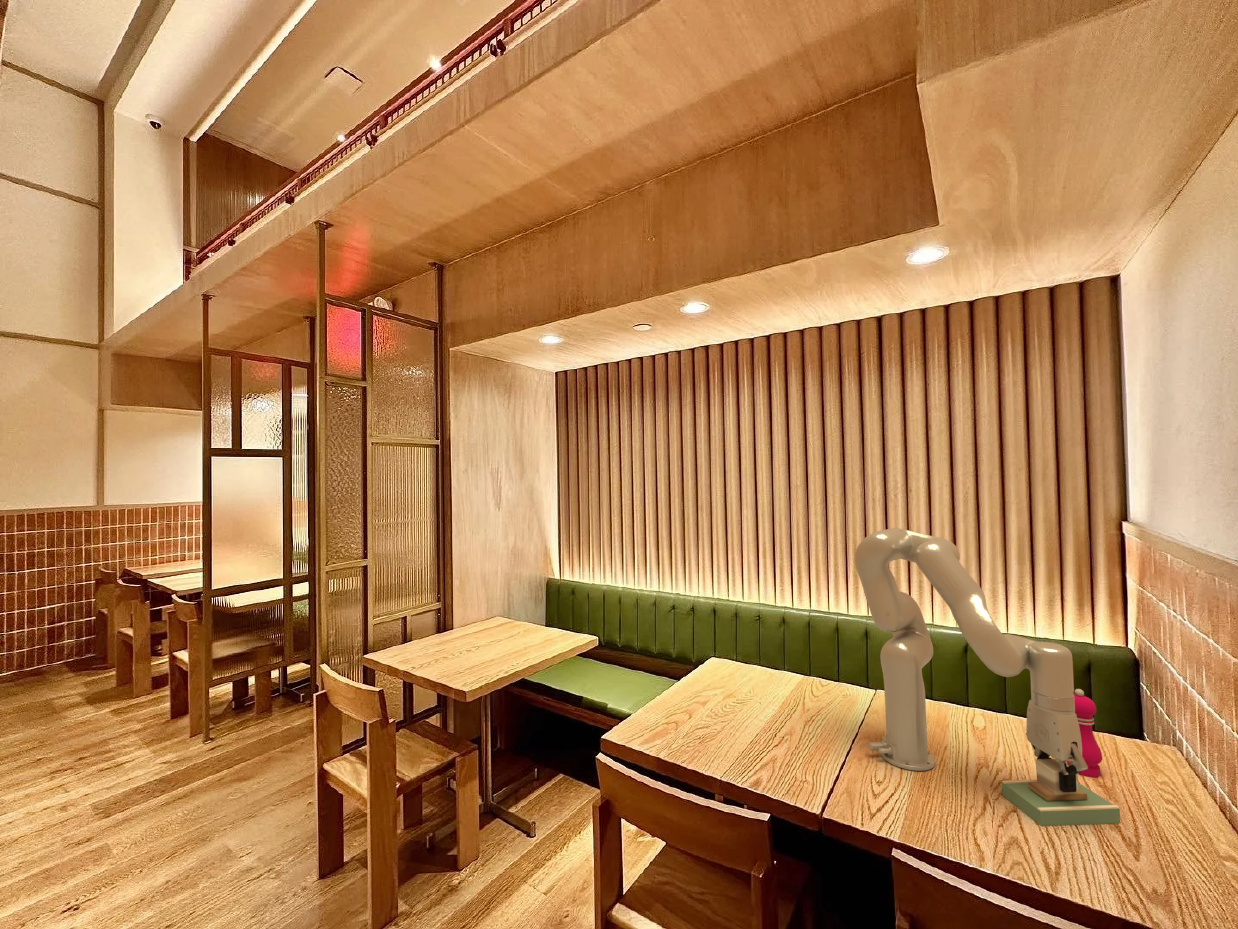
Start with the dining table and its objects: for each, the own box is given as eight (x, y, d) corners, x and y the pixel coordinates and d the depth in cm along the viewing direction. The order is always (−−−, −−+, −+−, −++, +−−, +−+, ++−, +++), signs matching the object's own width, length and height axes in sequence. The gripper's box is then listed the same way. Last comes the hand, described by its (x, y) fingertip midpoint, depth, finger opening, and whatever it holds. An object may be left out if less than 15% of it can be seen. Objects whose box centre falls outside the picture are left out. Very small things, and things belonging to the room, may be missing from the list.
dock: (1041, 826, 111) (1040, 810, 111) (1002, 795, 122) (1001, 780, 122) (1120, 823, 111) (1119, 807, 111) (1074, 792, 122) (1073, 778, 122)
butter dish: (1046, 800, 114) (1045, 771, 114) (1028, 787, 119) (1027, 759, 119) (1087, 799, 114) (1085, 770, 115) (1067, 786, 119) (1065, 758, 120)
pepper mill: (1057, 763, 135) (1052, 684, 135) (1083, 762, 135) (1078, 683, 136) (1084, 779, 128) (1079, 695, 128) (1111, 777, 128) (1106, 694, 129)
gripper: (1007, 686, 126) (1010, 763, 125) (1069, 718, 109) (1074, 808, 108) (1037, 685, 126) (1041, 762, 125) (1105, 717, 109) (1109, 806, 108)
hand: (1056, 782), depth 117 cm, fingers open, 5 cm apart
